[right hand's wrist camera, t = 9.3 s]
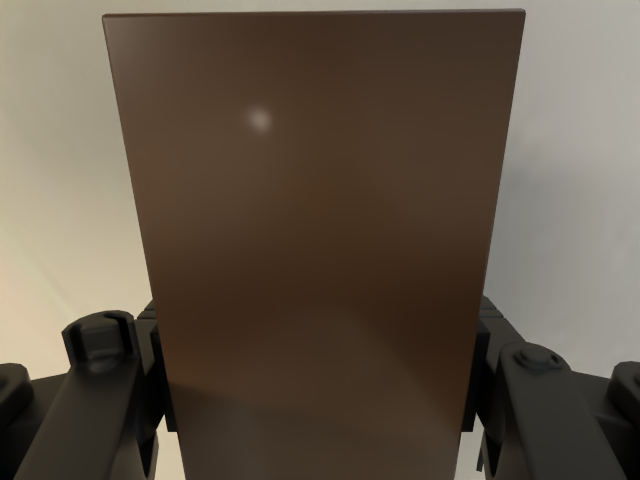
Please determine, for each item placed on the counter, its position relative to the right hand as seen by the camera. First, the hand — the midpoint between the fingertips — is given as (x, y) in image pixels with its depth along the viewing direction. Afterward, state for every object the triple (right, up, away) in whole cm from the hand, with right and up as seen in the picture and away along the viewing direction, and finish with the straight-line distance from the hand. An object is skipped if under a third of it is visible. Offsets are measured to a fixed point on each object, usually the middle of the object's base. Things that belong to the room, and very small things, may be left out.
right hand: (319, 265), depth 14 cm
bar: (0, -31, +12) cm, 33 cm away
